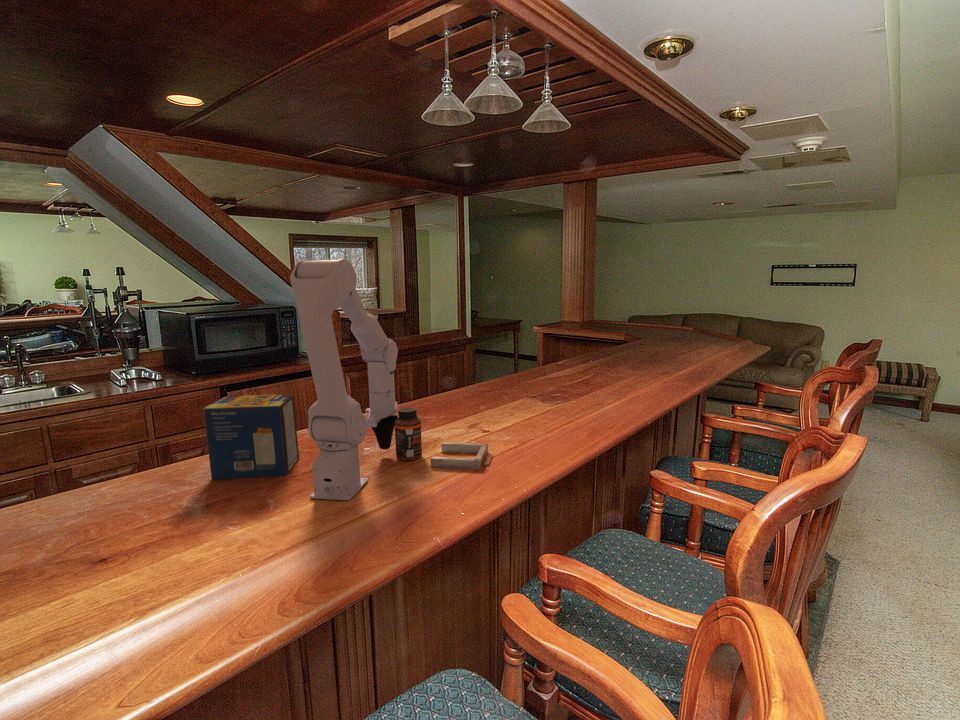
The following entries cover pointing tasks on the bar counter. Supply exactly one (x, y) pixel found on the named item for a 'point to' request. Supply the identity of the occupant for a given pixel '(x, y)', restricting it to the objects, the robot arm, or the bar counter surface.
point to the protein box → (251, 436)
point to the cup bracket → (462, 462)
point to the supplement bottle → (408, 435)
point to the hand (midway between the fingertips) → (385, 448)
